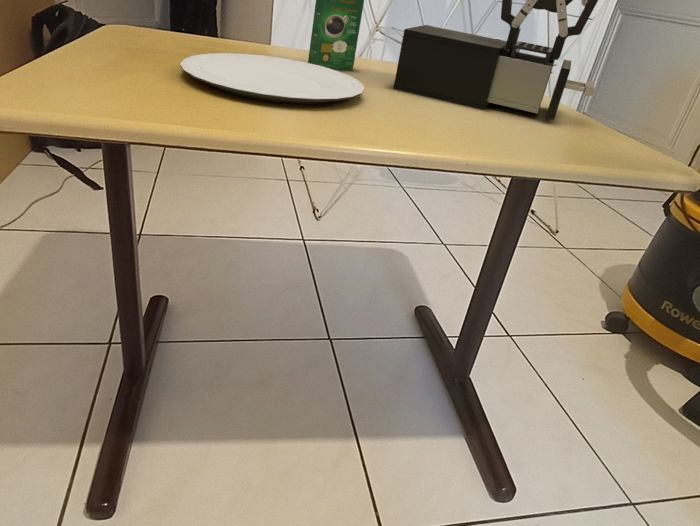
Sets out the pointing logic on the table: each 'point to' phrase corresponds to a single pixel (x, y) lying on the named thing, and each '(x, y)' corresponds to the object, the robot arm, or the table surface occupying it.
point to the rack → (532, 48)
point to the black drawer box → (447, 65)
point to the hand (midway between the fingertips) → (530, 57)
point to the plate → (272, 78)
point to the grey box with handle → (530, 83)
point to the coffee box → (335, 33)
